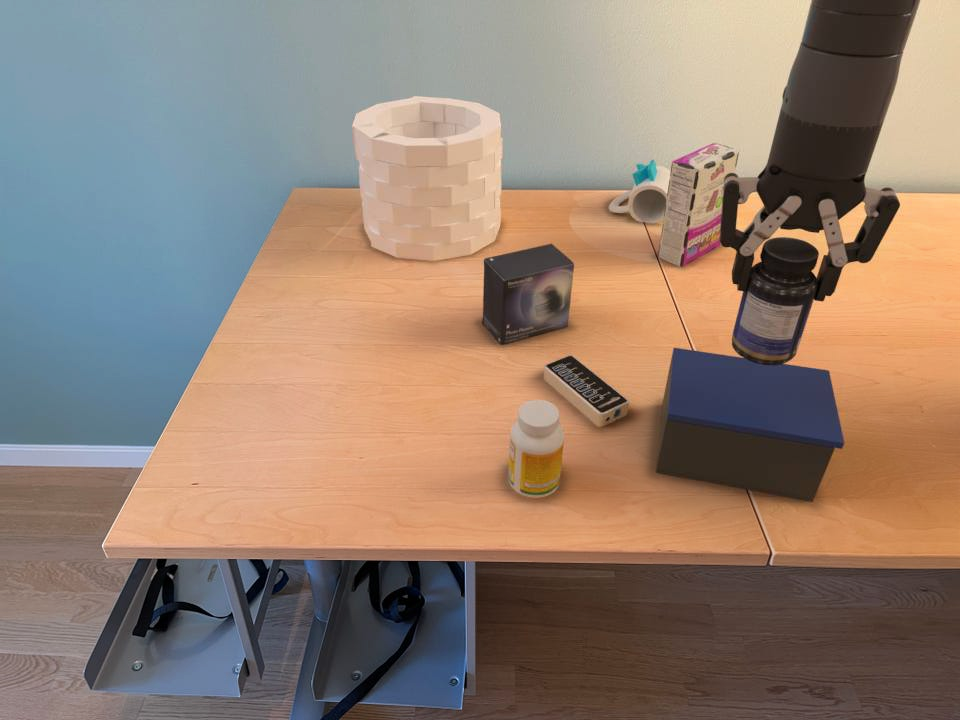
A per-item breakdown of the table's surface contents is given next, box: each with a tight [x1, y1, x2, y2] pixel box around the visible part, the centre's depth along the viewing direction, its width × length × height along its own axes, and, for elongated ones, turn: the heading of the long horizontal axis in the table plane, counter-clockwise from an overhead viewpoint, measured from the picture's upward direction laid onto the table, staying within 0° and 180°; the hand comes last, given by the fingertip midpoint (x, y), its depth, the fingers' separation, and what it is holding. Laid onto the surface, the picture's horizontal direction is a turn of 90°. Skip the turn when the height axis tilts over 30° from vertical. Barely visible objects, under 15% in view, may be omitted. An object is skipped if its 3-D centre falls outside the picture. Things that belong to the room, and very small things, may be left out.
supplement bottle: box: [508, 399, 565, 499], centre depth 70 cm, size 5×5×10 cm
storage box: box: [655, 357, 836, 503], centre depth 74 cm, size 16×12×8 cm
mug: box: [608, 159, 671, 225], centre depth 125 cm, size 12×9×12 cm
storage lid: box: [667, 347, 845, 450], centre depth 72 cm, size 16×12×1 cm
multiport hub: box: [543, 354, 630, 428], centre depth 84 cm, size 4×11×2 cm, turn 32°
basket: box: [351, 95, 504, 262], centre depth 115 cm, size 25×24×19 cm
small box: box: [481, 243, 575, 346], centre depth 93 cm, size 11×6×10 cm, turn 115°
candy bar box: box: [657, 142, 740, 268], centre depth 109 cm, size 11×5×16 cm, turn 132°
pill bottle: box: [731, 236, 820, 365], centre depth 65 cm, size 6×6×11 cm
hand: (779, 291), depth 64 cm, fingers closed on pill bottle, 6 cm apart
